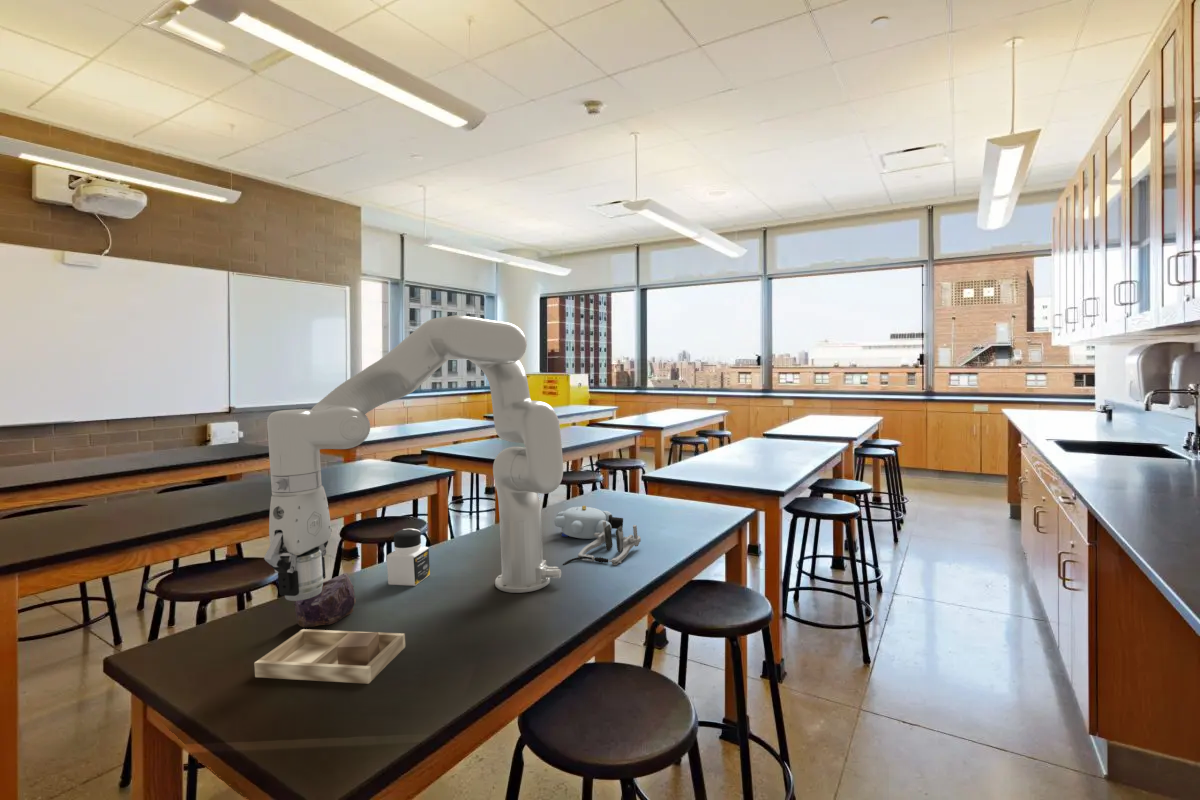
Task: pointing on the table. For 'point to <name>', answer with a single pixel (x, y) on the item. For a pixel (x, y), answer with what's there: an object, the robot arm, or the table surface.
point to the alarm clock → (585, 522)
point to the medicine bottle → (408, 559)
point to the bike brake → (610, 544)
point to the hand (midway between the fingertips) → (303, 585)
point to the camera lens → (308, 574)
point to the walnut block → (358, 649)
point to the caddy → (325, 658)
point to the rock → (327, 603)
